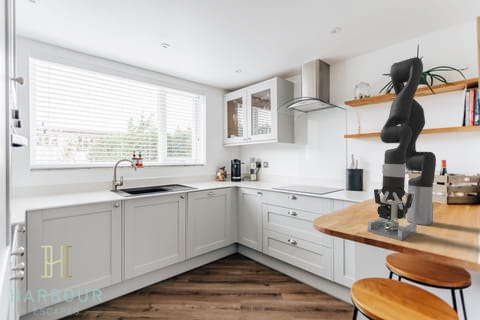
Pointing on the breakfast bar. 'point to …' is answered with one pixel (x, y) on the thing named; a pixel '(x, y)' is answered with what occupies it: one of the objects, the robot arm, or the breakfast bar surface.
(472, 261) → the breakfast bar surface
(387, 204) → the pneumatic valve
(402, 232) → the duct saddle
